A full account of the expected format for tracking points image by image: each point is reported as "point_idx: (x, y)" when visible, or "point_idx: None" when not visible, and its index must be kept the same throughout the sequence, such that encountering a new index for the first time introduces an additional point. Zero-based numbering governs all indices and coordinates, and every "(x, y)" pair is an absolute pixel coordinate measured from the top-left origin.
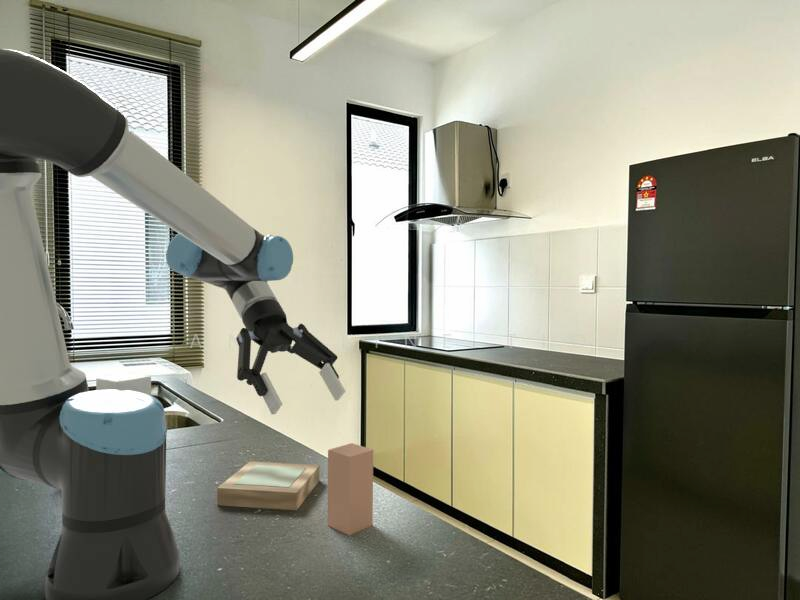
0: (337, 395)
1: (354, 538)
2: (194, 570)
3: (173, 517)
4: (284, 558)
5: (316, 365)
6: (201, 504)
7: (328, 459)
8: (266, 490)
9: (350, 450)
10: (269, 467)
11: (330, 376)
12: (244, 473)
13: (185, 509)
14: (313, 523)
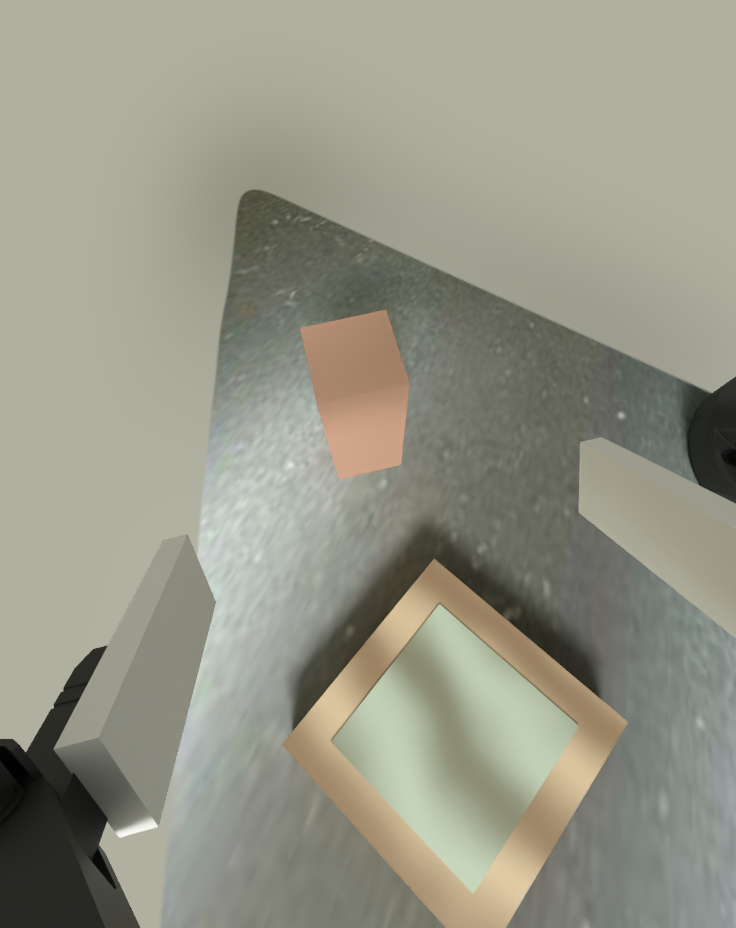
0: (202, 580)
1: None
2: (662, 430)
3: (714, 694)
4: (515, 395)
5: (128, 908)
6: (643, 747)
7: (407, 396)
8: (500, 617)
9: (356, 350)
10: (437, 824)
11: (156, 650)
12: (529, 815)
13: (686, 734)
14: (421, 486)
